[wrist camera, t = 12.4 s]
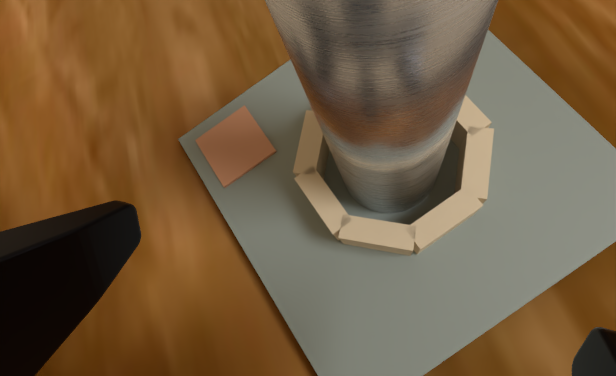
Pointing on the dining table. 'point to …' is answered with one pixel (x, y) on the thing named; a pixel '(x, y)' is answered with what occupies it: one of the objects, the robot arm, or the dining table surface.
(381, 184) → the silver metal cylinder
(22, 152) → the dining table surface
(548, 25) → the dining table surface
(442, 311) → the socket board
